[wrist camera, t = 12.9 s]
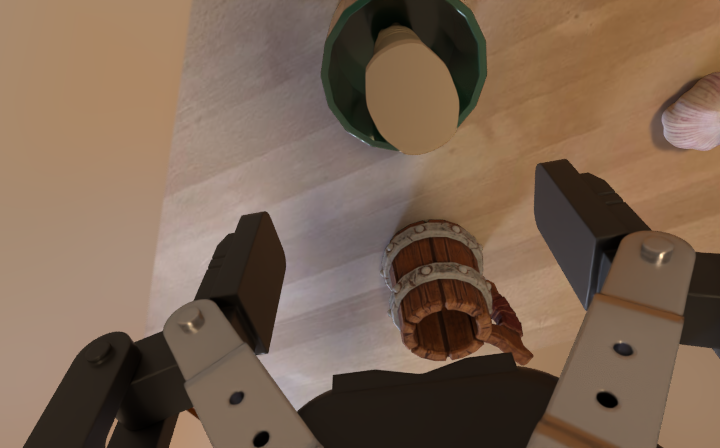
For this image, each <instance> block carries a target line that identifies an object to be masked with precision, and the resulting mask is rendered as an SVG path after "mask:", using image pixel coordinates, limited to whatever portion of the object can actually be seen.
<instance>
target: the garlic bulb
mask: <svg viewBox="0 0 720 448" xmlns="http://www.w3.org/2000/svg"><path fill="white" fill-rule="evenodd" d="M662 123H663V126H664V136H665V138H666V139H667V140H668V141H669V142H670V143H671V144H672V145H674V146H676V147H679V148H684V149H691V148H692V149H696V150H702V151H706V150H710V149H712V148H714V147H716V146H718V145H720V72H715V73H712V74H709V75H707V76H705V77H703V78H701V79H700V80H699V81H698V82H697V83H696V84H695V85H694V86H693V87H692V88H691V89H690V90H689V91H688V92H686V93H684V94H683V95H682V96H681V97H680V98H679V99H678V100H677V101H676V102H675V103H674V104H672V105H671V106H669V107H668V108H667V109H666V110H665V111H664V113H663V115H662Z"/></svg>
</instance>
